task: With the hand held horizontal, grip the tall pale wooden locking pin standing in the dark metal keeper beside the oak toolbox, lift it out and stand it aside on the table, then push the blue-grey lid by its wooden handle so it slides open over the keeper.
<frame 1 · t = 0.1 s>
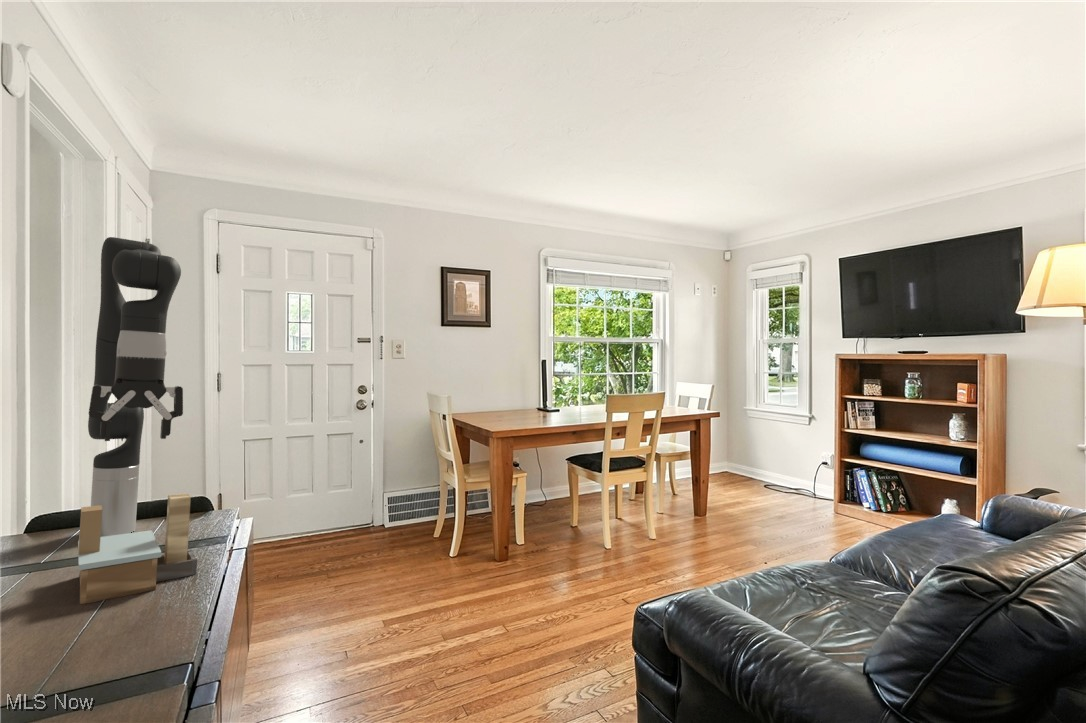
hand: (135, 439, 100), 29 cm above the table, tool pointing down, fingers open, 8 cm apart
wooden key: (174, 572, 110), resting in toolbox
lid: (120, 528, 104), point 11 cm above the table, slide at 0.0 cm
toolbox: (116, 582, 103), on the table
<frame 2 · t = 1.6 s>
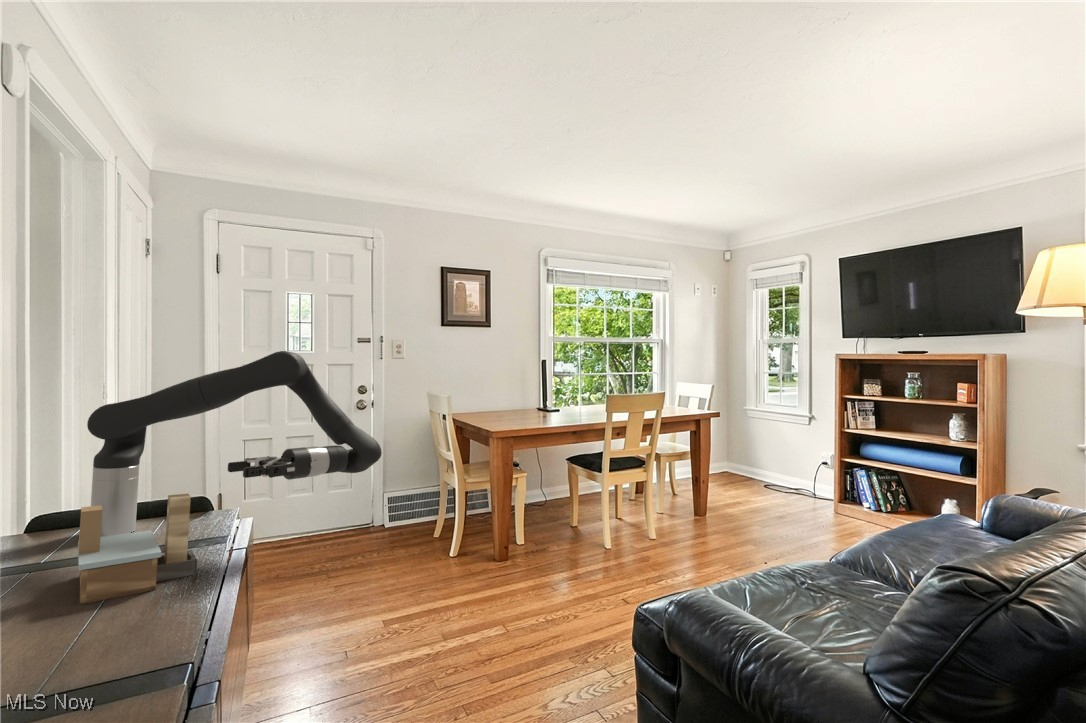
hand: (235, 470, 119), 20 cm above the table, tool horizontal, fingers open, 8 cm apart
nothing on the table moved.
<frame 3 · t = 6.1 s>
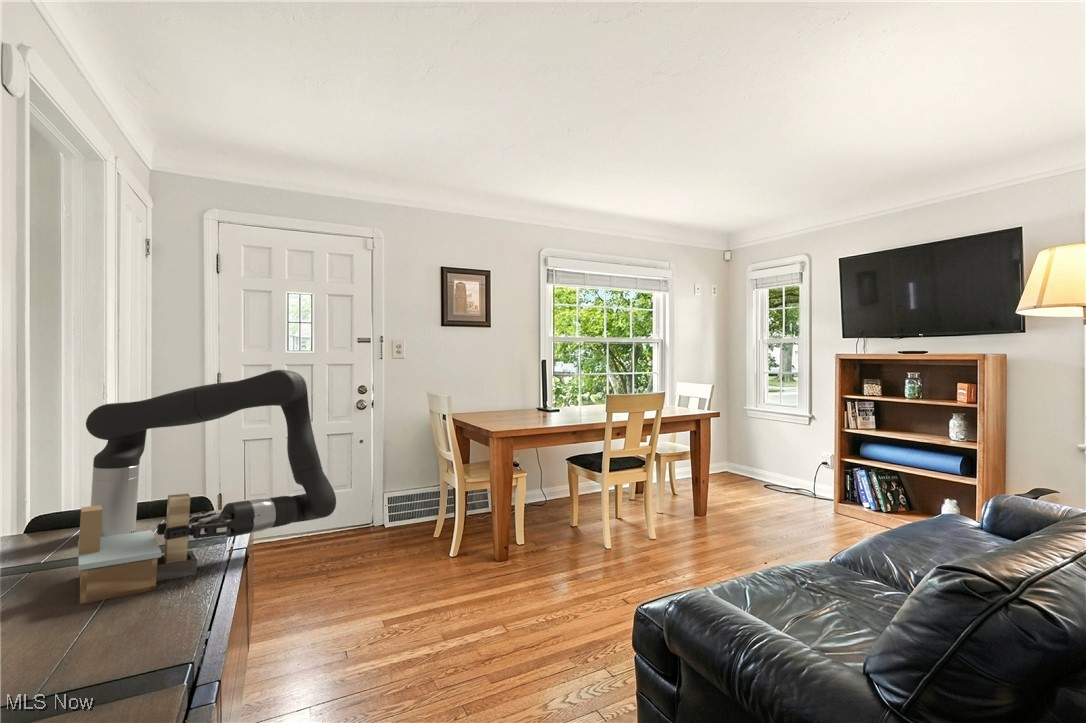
hand: (161, 531, 108), 9 cm above the table, tool horizontal, fingers closed on wooden key, 4 cm apart
wooden key: (174, 572, 110), resting in toolbox, touching gripper
everything else where it was.
when the fingers open (10 cm above the table, at t = 10.4 s): wooden key stays where it is, on the table.
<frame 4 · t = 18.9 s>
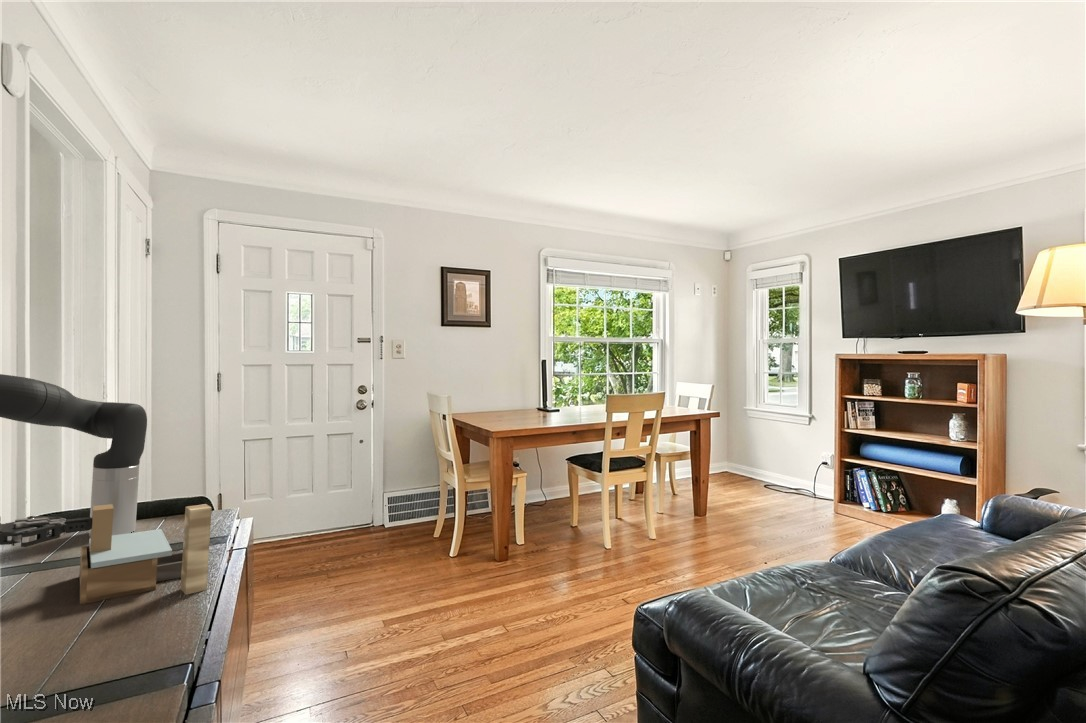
hand: (91, 523, 101), 12 cm above the table, tool horizontal, fingers closed
wooden key: (193, 589, 102), on the table
lid: (130, 526, 105), point 11 cm above the table, slide at 1.7 cm, touching gripper
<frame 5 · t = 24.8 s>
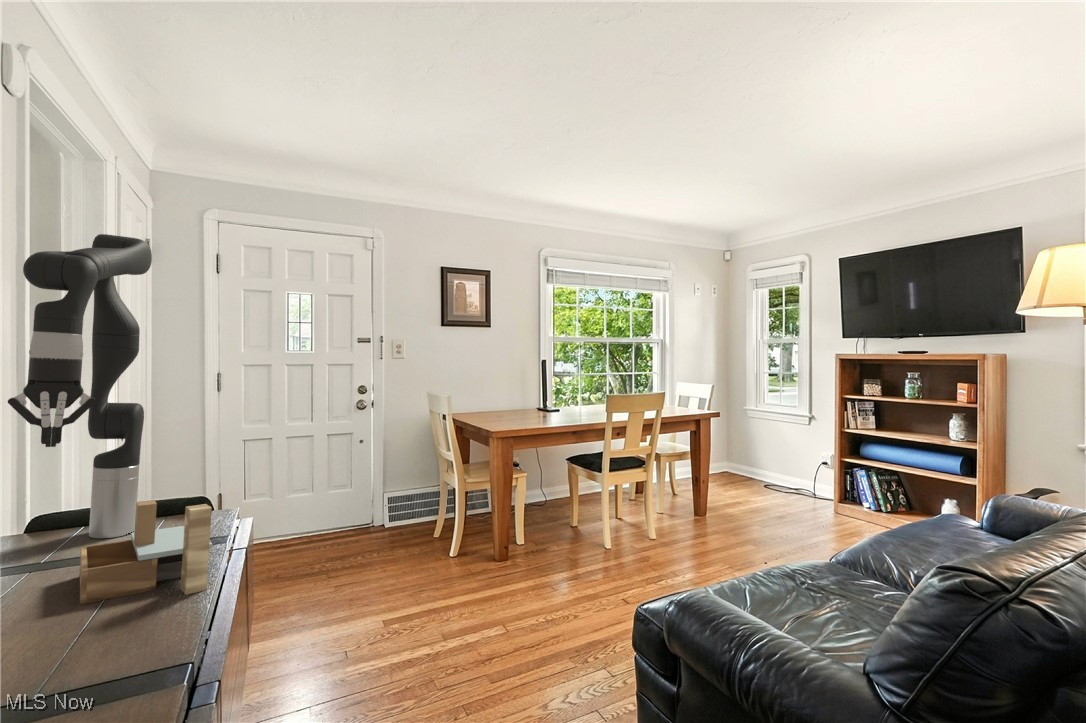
hand: (50, 446, 100), 27 cm above the table, tool pointing down, fingers closed
lid: (172, 521, 109), point 11 cm above the table, slide at 8.5 cm
everything else where it was.
at the end: lid slide at 8.5 cm; wooden key inside the target area (0.4 cm from its centre), on the table; wooden key tilted 0° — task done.
